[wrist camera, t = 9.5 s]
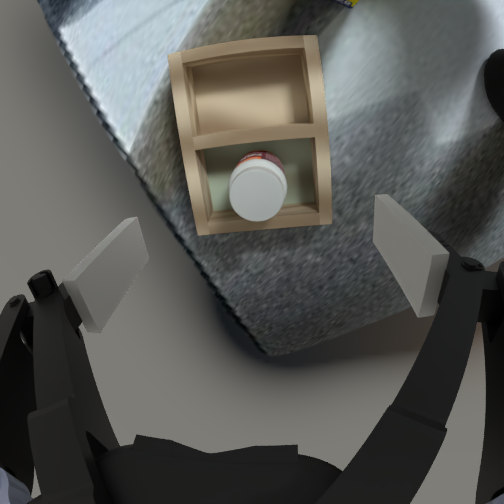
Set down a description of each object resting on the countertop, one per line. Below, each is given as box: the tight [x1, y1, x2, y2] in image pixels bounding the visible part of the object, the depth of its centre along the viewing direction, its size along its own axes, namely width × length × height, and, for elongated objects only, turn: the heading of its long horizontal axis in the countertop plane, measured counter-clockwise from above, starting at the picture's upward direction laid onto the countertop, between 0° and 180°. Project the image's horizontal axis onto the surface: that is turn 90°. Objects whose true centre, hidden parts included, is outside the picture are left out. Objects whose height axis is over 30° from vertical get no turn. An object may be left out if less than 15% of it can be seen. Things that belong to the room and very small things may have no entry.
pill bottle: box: [228, 150, 287, 222], centre depth 25 cm, size 5×5×8 cm
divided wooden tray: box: [168, 35, 332, 236], centre depth 25 cm, size 18×13×4 cm
